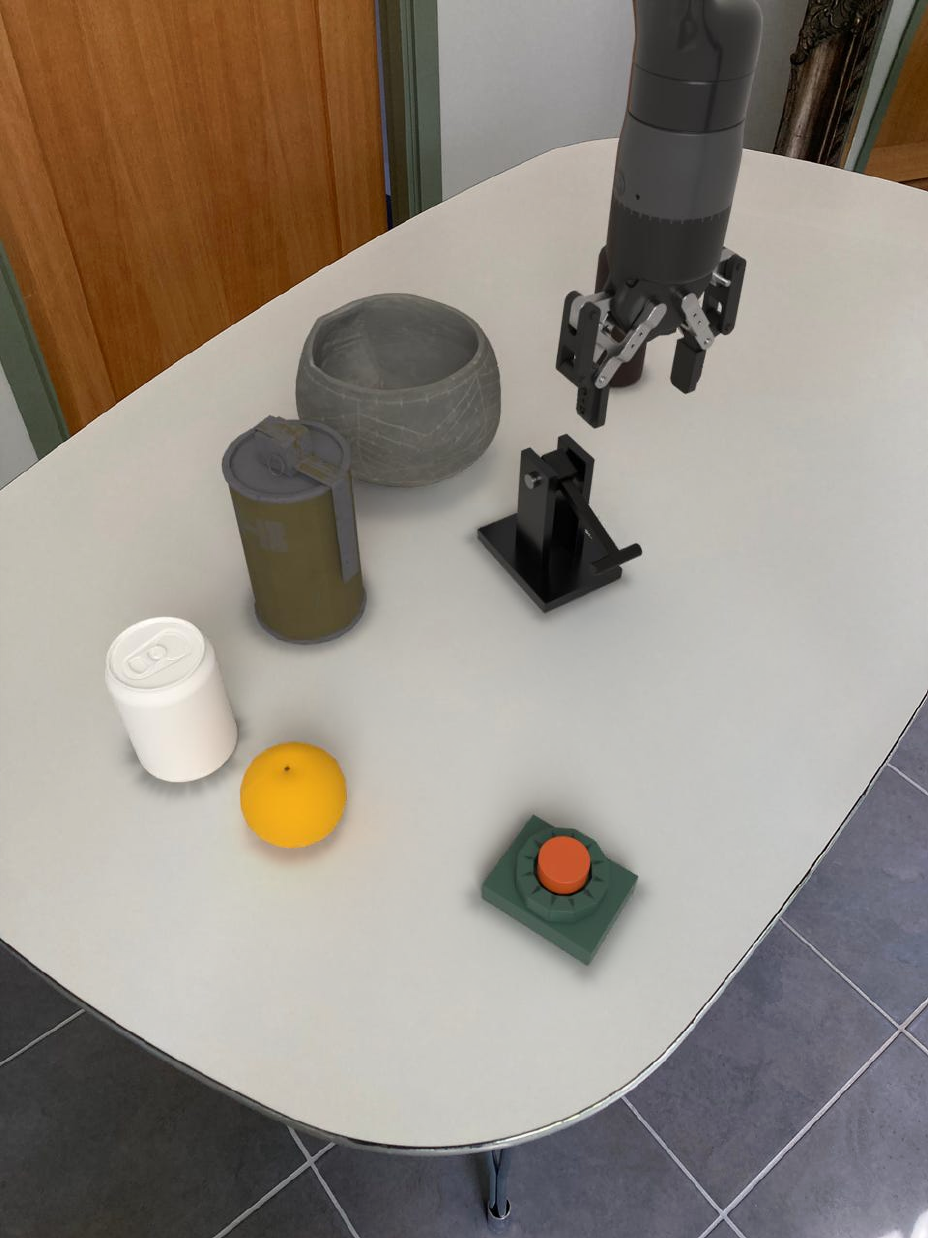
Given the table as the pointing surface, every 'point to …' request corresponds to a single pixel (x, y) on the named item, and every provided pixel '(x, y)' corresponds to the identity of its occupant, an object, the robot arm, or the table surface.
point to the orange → (293, 794)
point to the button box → (559, 916)
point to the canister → (297, 527)
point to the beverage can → (171, 698)
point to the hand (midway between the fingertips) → (637, 404)
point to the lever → (588, 516)
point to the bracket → (548, 533)
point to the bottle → (618, 337)
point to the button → (563, 865)
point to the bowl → (402, 387)
